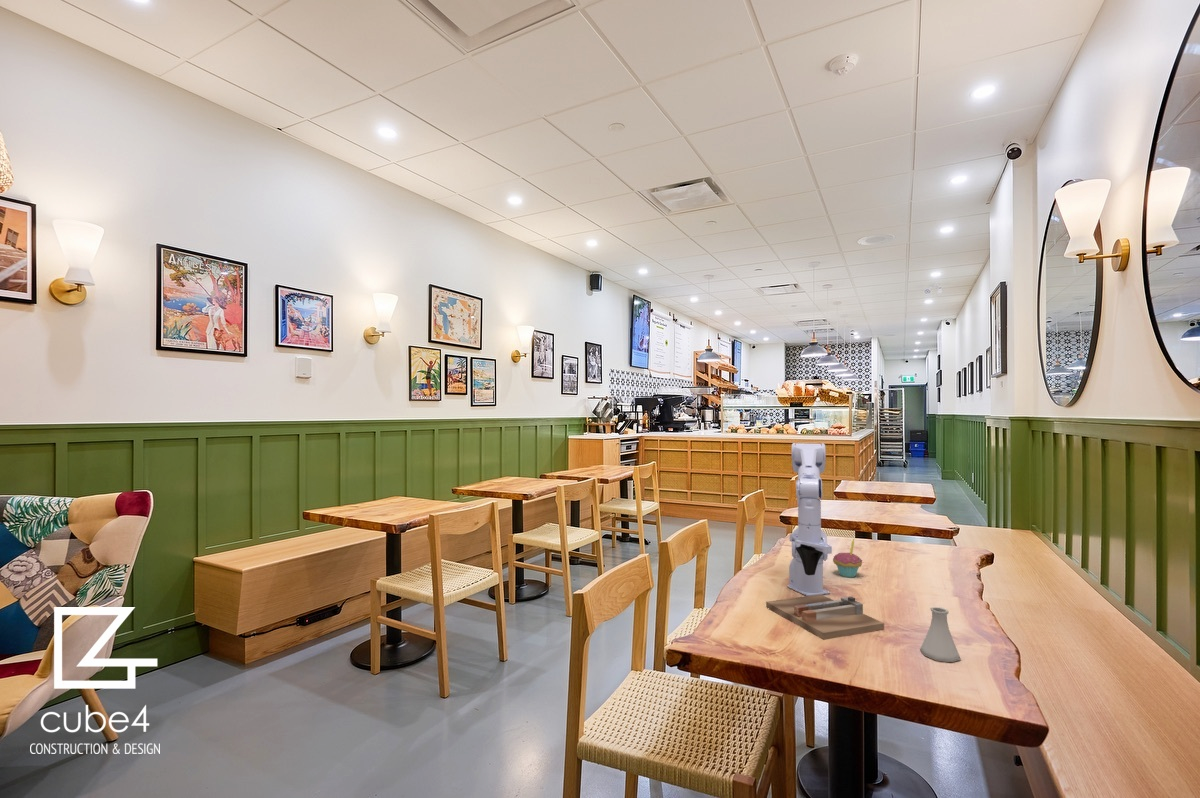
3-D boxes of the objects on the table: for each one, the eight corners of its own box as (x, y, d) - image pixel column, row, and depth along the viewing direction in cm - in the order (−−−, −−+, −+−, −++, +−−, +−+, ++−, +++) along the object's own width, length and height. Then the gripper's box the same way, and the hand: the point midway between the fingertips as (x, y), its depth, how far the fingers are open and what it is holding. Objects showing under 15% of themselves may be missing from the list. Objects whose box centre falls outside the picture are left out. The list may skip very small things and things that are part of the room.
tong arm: (838, 607, 144) (838, 599, 144) (843, 609, 143) (843, 601, 143) (794, 614, 140) (793, 605, 140) (798, 616, 138) (798, 608, 138)
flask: (913, 649, 123) (912, 604, 123) (944, 647, 124) (943, 603, 124) (935, 664, 116) (935, 616, 116) (968, 662, 117) (967, 615, 117)
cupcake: (863, 574, 179) (863, 536, 179) (860, 580, 172) (859, 542, 172) (835, 569, 184) (835, 533, 184) (830, 576, 176) (830, 538, 177)
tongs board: (766, 607, 149) (766, 589, 149) (820, 599, 155) (820, 582, 155) (823, 639, 128) (823, 618, 128) (884, 629, 134) (884, 609, 134)
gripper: (780, 519, 153) (780, 568, 153) (815, 530, 140) (815, 584, 139) (801, 517, 156) (801, 565, 155) (838, 528, 142) (838, 581, 142)
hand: (810, 574), depth 148 cm, fingers closed
